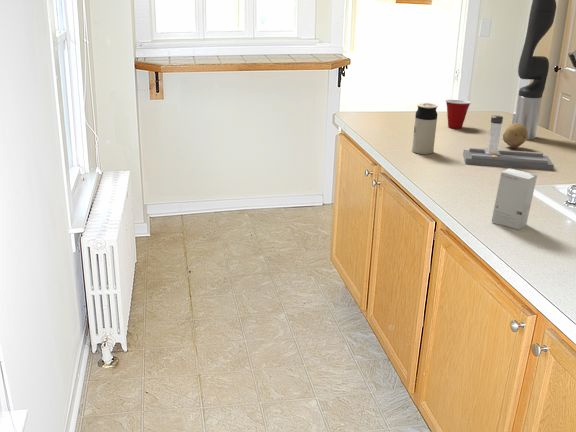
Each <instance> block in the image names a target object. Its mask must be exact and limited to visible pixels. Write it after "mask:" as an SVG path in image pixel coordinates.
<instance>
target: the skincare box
mask: <svg viewBox="0 0 576 432" xmlns="http://www.w3.org/2000/svg"><path fill="white" fill-rule="evenodd" d="M500 173H501V174H500V176H499V177H500V178H499V183H498V187H497V192H496V196H495V201H494V207H493V212H492V216H491V223H493V224H497V225H501V226H504V227H509V228H512V229H514V230H520V229H522V228H524V227H525V226H526V225H527V223H528V219H529V215H530V209H531V205H532V202H533V201H532V200H533V197H534V192H535V187H536V183H537V177H538V175H537V174H532V173H530V172H526V171H522V170H518V169H515V168H511V167H508V168H506V169H504V170H503V171H501V172H500Z"/></svg>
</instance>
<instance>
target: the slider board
mask: <svg viewBox="0 0 576 432" xmlns="http://www.w3.org/2000/svg"><path fill="white" fill-rule="evenodd" d="M484 149H486V150H487V149H488V148H481V147H480V148H479V147H469V149H463V152H462V155H463V156H462V157H463V161H464V163H465V165H473V166H474V165H476V166H487V167H488V166H489V167H491V166H492V167H501V168H502V167H503V168H513V169H516V168H517V169H529V170H540V171H541V170H543V171H553V169H554V163H553V162H552V161H551V159H550V158H549V156H548V155H544V153H543V152H539V151H538V152H537V151H535V152H534V151H524V150H523V151H522V150H521V151H520V150H511V149H510V150H509V149H508V150H507V149H498V151H499V153H500V156H497V155H485V154H484Z"/></svg>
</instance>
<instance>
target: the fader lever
mask: <svg viewBox="0 0 576 432" xmlns="http://www.w3.org/2000/svg"><path fill="white" fill-rule="evenodd" d="M503 121H504V116H501V115H491V117H490V130H489V136H488V144H487V148H483V149H484V154H485V155H497V156H500V153H499V151H498V150H499V143H500V136H501V130H502V124H503V123H504V122H503ZM486 149H487V150H486Z"/></svg>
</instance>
